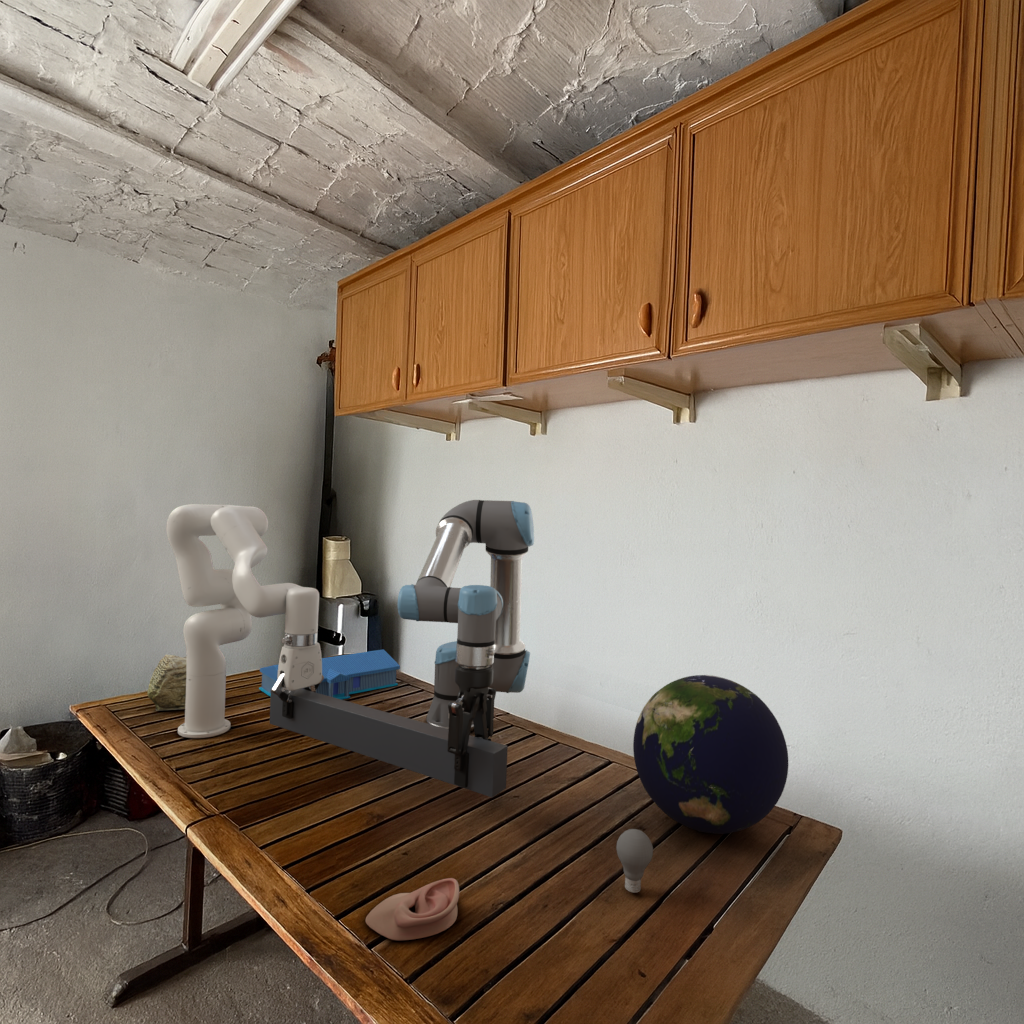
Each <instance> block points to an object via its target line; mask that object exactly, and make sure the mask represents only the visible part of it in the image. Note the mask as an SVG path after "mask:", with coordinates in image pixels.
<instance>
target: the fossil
mask: <svg viewBox="0 0 1024 1024" xmlns="http://www.w3.org/2000/svg"><path fill="white" fill-rule="evenodd" d="M186 667H187V656H183V657H182V656H178V655H175V654H174V655H173V654H165V655H164V656H163V657H162V658H161V659H160V660H159V662H158V663H157V666H156V667H155V669H154V670H153V672H152V675H151V677H150V680H149V684H148V688H147V697H148V699H149V700H150V701H152V703H153V704H154V706H155V711H158V712H159V711H162V712H163V711H177V710H185V701H186Z"/></svg>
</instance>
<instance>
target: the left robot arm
mask: <svg viewBox="0 0 1024 1024" xmlns="http://www.w3.org/2000/svg"><path fill="white" fill-rule="evenodd" d="M268 528H269V520H268V517H267V514H266V513H265V512H264V511H263V510H262V509H261V508H259V507H257V506H252V505H251V506H249V505H247V506H246V505H244V506H243V505H236V504H235V505H234V504H217V503H216V504H214V503H213V504H211V503H209V504H208V503H206V504H205V503H189V504H183V505H180V506H177V507H176V508H174V509H173V510H172V511H171V512H170V514H169V515H168V517H167V520H166V536H167V539H168V542H169V545H170V548H171V550H172V552H173V555H174V558H175V561H176V562H175V563H176V567H177V572H178V578H179V582H180V587H181V592H182V593H181V594H182V597H183V599H184V601H185V603H186V604H187V606H189V607H193V608H202V607H210V606H216V605H220V608H215V609H210V610H204V611H199V612H196V613H193V614H192V615H191V616H189V617H188V618H187V619H186V620H185V622H184V624H183V629H182V631H183V632H182V633H183V639H184V646H185V653H186V654H185V657H187V667H186V701H185V709H184V722H182V724H180V725H179V726H178V727H177V734H178V735H179V736H180V737H182V738H188V739H207V738H212V737H216V736H220V735H222V734H224V733H227V732H228V731H230V729H231V727H232V725H231V723H232V722H231V721H230V720H228V719H226V718H225V715H226V692H227V691H226V689H227V659H226V657H225V655H224V654H223V652H222V650H221V648H220V646H223V645H226V644H232V643H237V642H240V641H242V640H245V639H246V638H248V637H249V635H250V634H251V632H252V626H253V620H252V619H253V618H252V617H254V618H260V619H261V618H268V617H273V616H279V615H284V616H285V617H284V619H285V620H284V637H282V638H281V640H280V641H281V643H282V644H283V645H282V647H281V649H280V650H281V651H280V654H279V661H278V664H279V666H278V677H277V682H276V683H275V685H274V686H273V688H272V692H273V693H274V694H276V695H277V696H278V697H279V698H280V700H282V701H283V704H282V716H283V717H286V718H289V719H292V718H293V711H294V702H292V698H293V694H294V691H295V690H299V689H303V688H304V689H305V690H308V691H312V692H316V689H317V688H318V687H319V684H320V683H321V682H322V681H323V679H324V676H323V675H322V658H323V657H322V650H321V649H322V648H321V644H320V642H318V632H319V631H318V629H319V611H320V610H319V609H320V592H319V590H318V589H317V588H315V587H311V586H310V587H308V586H301V585H299V584H296V583H295V582H280V583H273V584H272V583H271V584H264V585H261V583H259V581H258V580H257V578H256V576H255V575H254V572H253V570H252V568H254V567H256V566H258V564H260V563H261V562H262V561H263V560H264V559H265V558H266V556H267V554H268V546H267V545H266V543H265V542H264V540H263V538H261V537H262V536H264V535H265V534H266V533H267V531H268ZM203 536H204V537H205V536H206V537H207V536H209V537H210V536H216V537H217V539H218V540H219V541H220V543H221V544H222V546H223V548H224V549H225V550H226V552H227V553H228V555H229V557H230V558H231V560H232V561H233V563H234V566H233V569H231V568H219V569H216V568H215V566H214V562H213V558H212V553H211V551H210V549H209V548H208V546H207V545H206V544H205V543H204V542H203V541H202V540H201V539H200V538H199V537H203ZM281 687H283V690H281ZM288 691H289V692H288ZM287 692H288V695H287Z"/></svg>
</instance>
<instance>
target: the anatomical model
mask: <svg viewBox="0 0 1024 1024" xmlns="http://www.w3.org/2000/svg"><path fill="white" fill-rule="evenodd" d="M459 898H460V885H459V882H458V880H457V879H455V878H453V877H448V878H442V879H438V880H436V881H433V882H430V883H428V884H426V885H424V886H422V887H419V888H417V889H416V890H413V891H412V892H400V893H397V894H396V893H395V894H393V895H391V896H389V897H387V898H385V899H384V900H382V901H381V902H380V903H378V904H377V905H376V906H375V907H373V908H372V909H371V910H370V912H369V913H368V914H367V915H366V917H365V923H366V925H367V926H368V927H369V928H370V929H371V930H373V931H374V932H376V933H377V934H378V935H380V936H383V937H384V938H387V939H389V940H391V941H399V942H400V941H409V940H416V939H422V938H428V937H431V936H435V935H438V934H440V933H442V932H444V931H446V930H447V929H449V928H451V927H452V926H453V925H454V924H455V922H456V920H457V917H458V909H459V908H458V902H459Z"/></svg>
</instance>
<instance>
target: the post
mask: <svg viewBox="0 0 1024 1024" xmlns="http://www.w3.org/2000/svg"><path fill="white" fill-rule="evenodd" d="M281 690H283V687H281ZM288 692H289V691H288ZM288 692H287V695H288ZM269 697H270V696H269ZM292 702H294V711H293V718H292V719H289V718H286V717H283V716H282V704H283V701H282V700H280V698H279V697H278V696H277V695H276V694H274V693H273V692H272V689H271V697H270V701H269V724H270V725H272V726H275V727H278V728H281V729H284V730H288V731H290V732H293V733H296V734H299V735H301V736H302V735H303V736H305V737H309V738H312V739H315V740H317V741H321V742H323V743H327V744H330V745H333V746H336V747H338V748H342V749H344V750H347V751H350V752H354V753H356V754H360V755H363V756H366V757H368V758H372V759H375V760H378V761H381V762H384V763H387V764H390V765H391V766H395V767H399V768H402V769H404V770H407V771H410V772H413V773H417V774H420V775H423V776H425V777H429V778H431V779H435V780H437V781H440V782H444V783H447V784H450V785H453V786H455V787H459V788H462V789H465V790H468V791H471V792H474V793H477V794H480V795H483V796H486V797H488V798H494V797H496V796H497V795H498V794H500V793H501V792H502V791H505V790H506V789H507V771H508V747H509V746H508V745H507V744H503V743H500V742H496V741H493V740H491V741H489V740H485V739H481V738H478V737H475V735H471V734H470V736H469V741H468V746H467V752H466V753H469V767H468V787H466V788H464V787H461V786H458V785H455V784H454V776H455V769H454V765H455V764H454V763H455V754H453V753H450V752H448V732H449V729H445V728H442V727H438V726H435V725H431V724H427V723H426V722H424V721H419V720H417V719H413V718H409V717H405V716H402V715H398V714H395V713H391V712H388V711H385V710H380V709H377V708H373V707H370V706H366V705H362V704H359V703H354V702H351V701H348V700H345V699H342V700H341V699H337V698H334V697H330V696H326V695H323V694H319V693H316V692H312V691H308V690H305V689H299V690H295V691H294V694H293V698H292Z"/></svg>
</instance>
